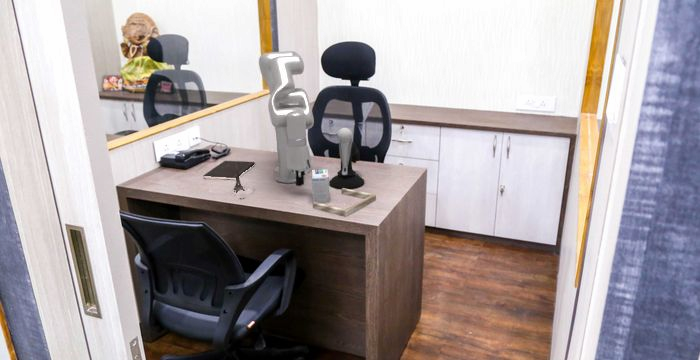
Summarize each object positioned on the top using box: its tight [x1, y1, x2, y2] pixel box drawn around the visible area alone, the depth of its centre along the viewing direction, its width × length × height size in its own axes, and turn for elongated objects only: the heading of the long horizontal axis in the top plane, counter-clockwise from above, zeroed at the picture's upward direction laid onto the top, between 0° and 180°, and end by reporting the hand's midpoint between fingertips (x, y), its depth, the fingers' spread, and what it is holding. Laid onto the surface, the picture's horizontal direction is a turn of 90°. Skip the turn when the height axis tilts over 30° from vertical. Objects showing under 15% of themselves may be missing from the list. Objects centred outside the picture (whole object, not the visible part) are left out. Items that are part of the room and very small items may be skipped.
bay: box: [312, 188, 377, 218], centre depth 204 cm, size 16×20×2 cm
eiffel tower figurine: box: [232, 165, 245, 193], centre depth 218 cm, size 15×10×13 cm
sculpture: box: [329, 127, 365, 190], centre depth 226 cm, size 15×24×25 cm, turn 167°
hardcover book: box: [202, 160, 256, 178], centre depth 247 cm, size 16×23×2 cm
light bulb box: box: [311, 168, 330, 204], centre depth 209 cm, size 11×7×11 cm, turn 5°
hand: (300, 184), depth 216 cm, fingers closed
